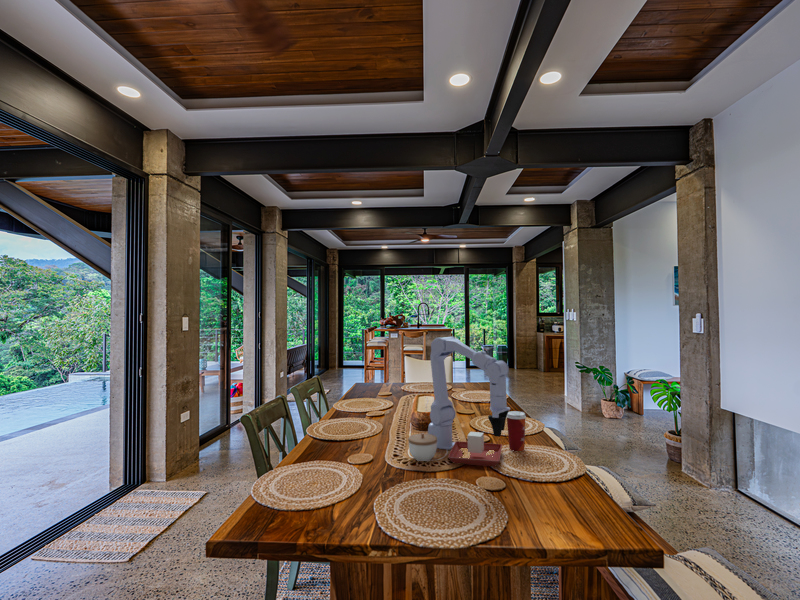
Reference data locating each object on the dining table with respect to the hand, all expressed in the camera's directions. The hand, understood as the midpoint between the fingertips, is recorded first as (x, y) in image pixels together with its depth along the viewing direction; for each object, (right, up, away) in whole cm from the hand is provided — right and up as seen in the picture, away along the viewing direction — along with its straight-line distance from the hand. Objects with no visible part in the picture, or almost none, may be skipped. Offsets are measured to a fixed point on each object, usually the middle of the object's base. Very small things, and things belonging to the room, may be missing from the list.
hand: (499, 433), depth 143 cm
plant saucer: (-7, -12, +5) cm, 15 cm away
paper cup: (+10, -11, +13) cm, 20 cm away
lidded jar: (-27, -11, +5) cm, 30 cm away
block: (-7, -8, +5) cm, 12 cm away
